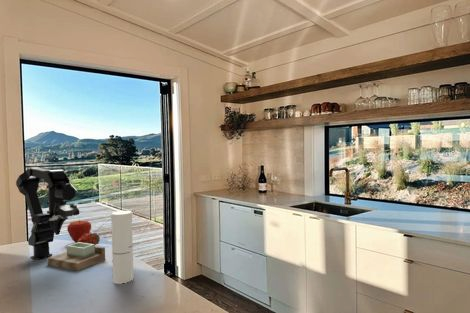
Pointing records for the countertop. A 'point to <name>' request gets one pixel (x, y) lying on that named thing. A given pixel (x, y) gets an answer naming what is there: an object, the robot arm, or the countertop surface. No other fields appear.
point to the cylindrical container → (122, 246)
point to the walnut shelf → (77, 260)
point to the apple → (78, 229)
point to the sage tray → (81, 249)
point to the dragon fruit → (89, 238)
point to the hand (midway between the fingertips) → (57, 234)
